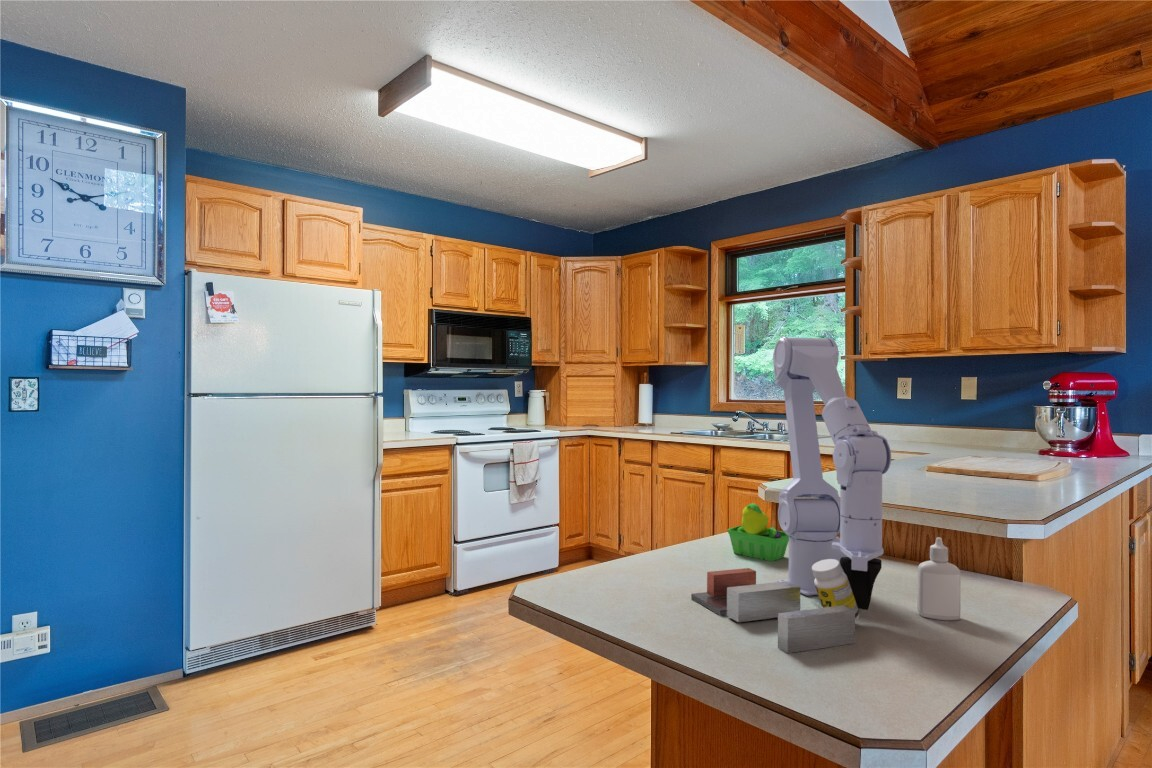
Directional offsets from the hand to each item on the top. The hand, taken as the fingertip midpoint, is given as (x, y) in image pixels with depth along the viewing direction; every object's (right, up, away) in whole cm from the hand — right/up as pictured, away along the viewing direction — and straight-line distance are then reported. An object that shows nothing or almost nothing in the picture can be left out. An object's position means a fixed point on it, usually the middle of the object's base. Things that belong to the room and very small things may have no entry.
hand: (860, 608), depth 96 cm
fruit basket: (-4, -3, +39) cm, 39 cm away
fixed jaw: (-10, -2, -9) cm, 14 cm away
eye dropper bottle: (+13, -2, +3) cm, 14 cm away
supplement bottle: (-3, -1, -1) cm, 3 cm away
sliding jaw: (-15, -1, +5) cm, 16 cm away
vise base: (-16, -2, +8) cm, 18 cm away
